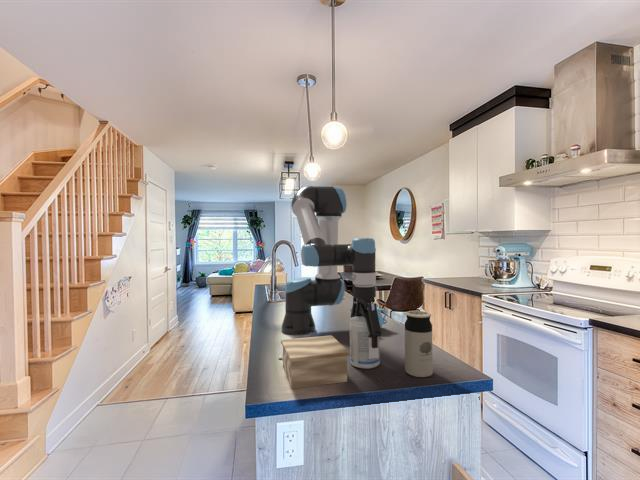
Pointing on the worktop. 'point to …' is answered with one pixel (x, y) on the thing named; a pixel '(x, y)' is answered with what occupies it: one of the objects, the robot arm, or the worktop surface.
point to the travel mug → (418, 344)
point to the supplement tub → (361, 344)
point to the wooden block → (314, 361)
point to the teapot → (380, 316)
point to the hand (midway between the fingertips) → (364, 350)
